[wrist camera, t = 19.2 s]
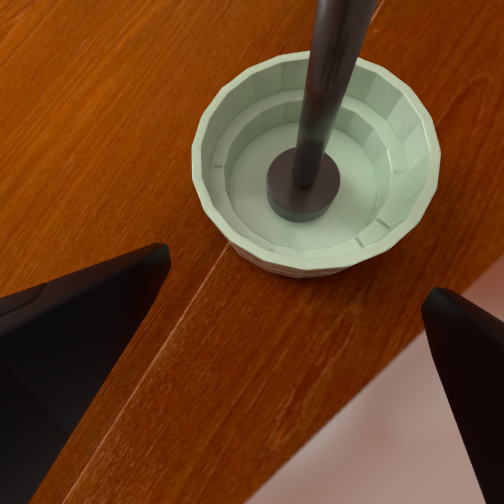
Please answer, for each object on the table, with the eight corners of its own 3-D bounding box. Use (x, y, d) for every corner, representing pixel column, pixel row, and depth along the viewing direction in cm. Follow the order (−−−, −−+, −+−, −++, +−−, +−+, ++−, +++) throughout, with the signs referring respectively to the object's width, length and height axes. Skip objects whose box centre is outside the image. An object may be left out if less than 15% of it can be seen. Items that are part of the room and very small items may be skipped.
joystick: (278, 231, 18) (303, -40, 4) (258, 173, 19) (217, -205, 5) (343, 210, 17) (625, -152, 4) (319, 153, 19) (460, -292, 5)
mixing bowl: (380, 299, 17) (425, 298, 12) (190, 254, 18) (161, 237, 14) (405, 125, 19) (451, 64, 14) (236, 101, 21) (226, 40, 16)
